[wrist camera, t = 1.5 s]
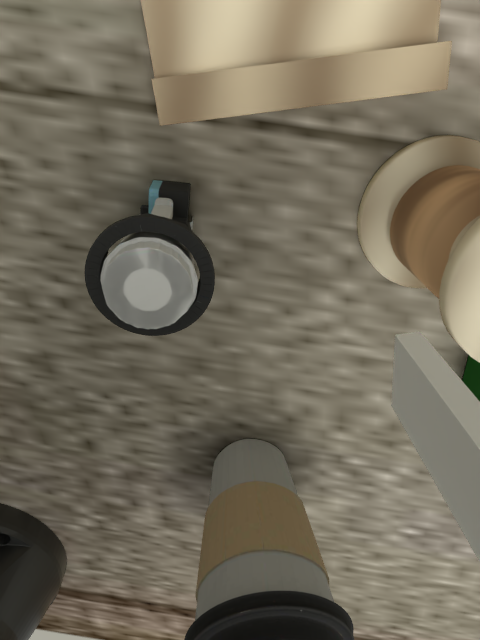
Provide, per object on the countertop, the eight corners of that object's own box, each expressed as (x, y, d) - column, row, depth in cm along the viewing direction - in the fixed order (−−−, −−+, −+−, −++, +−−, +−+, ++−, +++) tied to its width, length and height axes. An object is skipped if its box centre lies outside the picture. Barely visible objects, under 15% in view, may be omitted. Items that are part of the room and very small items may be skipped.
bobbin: (356, 290, 30) (428, 392, 20) (358, 145, 25) (451, 186, 16) (491, 272, 30) (629, 367, 20) (516, 125, 25) (708, 153, 16)
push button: (207, 285, 29) (207, 376, 20) (122, 279, 28) (83, 369, 19) (216, 179, 26) (220, 231, 17) (121, 169, 25) (74, 218, 16)
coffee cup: (186, 501, 38) (174, 726, 25) (198, 414, 34) (192, 630, 20) (294, 507, 39) (338, 724, 26) (319, 424, 35) (387, 634, 22)
